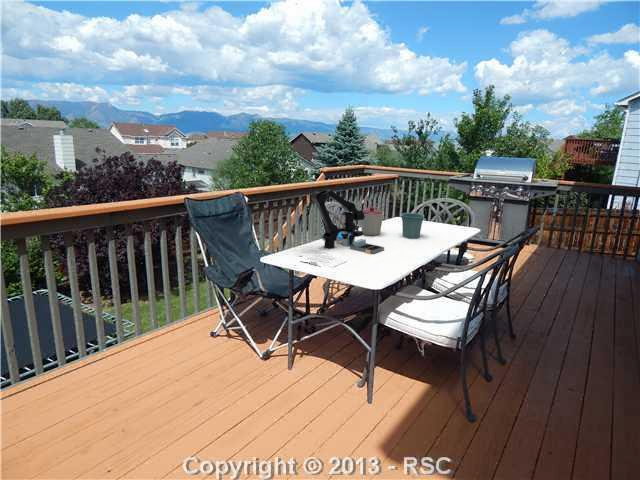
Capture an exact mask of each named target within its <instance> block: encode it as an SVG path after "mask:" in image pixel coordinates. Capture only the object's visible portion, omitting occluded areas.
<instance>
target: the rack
mask: <svg viewBox="0 0 640 480" xmlns="http://www.w3.org/2000/svg"><path fill="white" fill-rule="evenodd" d="M349 250H352V251H357V252H362V253H365V254H369V255H376V254H378V253H381V252H383V251H385V247H384V246H382V245H381V246H380V245H377V244H371V243H367V242H366V245H363V246H360V247H355V246H354V244H352V245H349Z"/></svg>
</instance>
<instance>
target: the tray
mask: <svg viewBox="0 0 640 480" xmlns="http://www.w3.org/2000/svg"><path fill="white" fill-rule="evenodd" d="M303 255H304V257H303V258H304V259H305V260H309V259H310V262H308V263H307V264H309V263H310V264H309V265H313V266H318V267H321V266H322V267H323V266H326V267H330V268H334V267H336V266H339V265H341V264H344V263H346V262H347V261H346V260H341V259H342V258H341V257H338V256H334V255H329V254H324V253H311V252H309V253H308V252H307V253H306V254H305V253H304V254H302V255H301V256H303ZM305 257H307V259H306V258H305ZM312 261H313V262H312Z"/></svg>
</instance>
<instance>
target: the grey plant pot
mask: <svg viewBox="0 0 640 480" xmlns="http://www.w3.org/2000/svg"><path fill="white" fill-rule="evenodd" d="M362 210H363V213H364V216H365V218H364V220H360V228H361V231H362V232H363V235H365V236H370V237H372V236H373V237H375V236H378V235H379V234H380V233H381V231H382V226H383V225H382V224H383V217H384V214H385V212H384V211H382V210H381V209H375V207H374V206H369V208H367V209H362Z"/></svg>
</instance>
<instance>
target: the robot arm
mask: <svg viewBox="0 0 640 480" xmlns="http://www.w3.org/2000/svg"><path fill="white" fill-rule="evenodd" d="M310 198H311V200H312V201H313V203H314V204H315V205H316V206H317V207H318V208H317V209H318V210H319V213H320V215H321V218H322V220H323V223H324V225H325V226H324V228H325V229H324V230H325V232H324V233H323V234H322V235H323V238H324V239H325V240H324V249H327V250H329V249H335V247H336V246H335V243H336V242H335V241H336V239H337V236H338V234H339V233H340V232H341V235H342V237H343V239H347V238H348V234H349V233H350V234H351V235H350V236H349V242H350V245H349V246H351V245H353V244H352V242H353V240H354V238H355V239H356V237H357V238H358V237H362V236H363V235H364V234H363V232H362V230H359V229H360V226H359V225H356V223H355V222H358V221H361V220H364V218H365V216H364V213H363V210H364V209H362V210H361V209H359V210H358V209H357V207H356V204H355V203H353V202H351V201H349V200H346V199H344V198H343V197H341V196H340V195H339V194H338V193H335V192H334V190H332V189H325V190H320V191H313V192H312V193H311V195H310ZM328 198H330V199H332V200H333V201H334V202H337V204H338V205H340V206H341V207H342V208H343V209H344V211H343V213H342V214H341V215H342V216H344V222H343V226H344V227H342V226H340V227H338V226H337V224H334V223H333V221H332V219H331V216H330V214H329V211H328V209H327V206H326V200H327V199H328ZM354 221H355V222H354Z"/></svg>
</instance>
